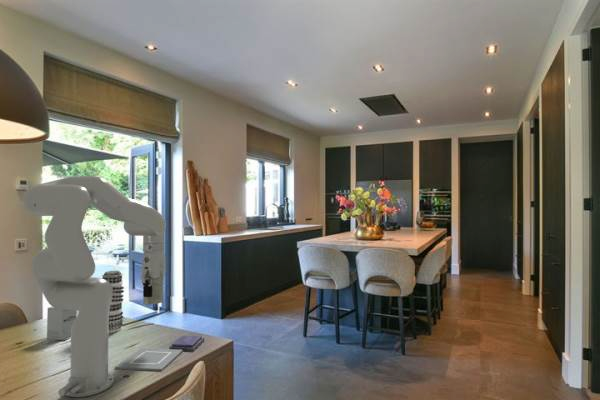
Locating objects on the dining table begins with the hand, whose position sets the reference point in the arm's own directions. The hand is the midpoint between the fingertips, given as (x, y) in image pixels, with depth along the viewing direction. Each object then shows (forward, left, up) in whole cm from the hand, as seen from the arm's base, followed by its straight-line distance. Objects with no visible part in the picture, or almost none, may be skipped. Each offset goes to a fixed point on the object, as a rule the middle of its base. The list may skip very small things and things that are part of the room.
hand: (153, 294), depth 137 cm
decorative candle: (+16, +27, -20) cm, 37 cm away
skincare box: (0, 0, -4) cm, 4 cm away
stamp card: (-12, -6, -20) cm, 24 cm away
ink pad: (+2, -13, -20) cm, 23 cm away
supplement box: (+6, +42, -20) cm, 47 cm away
